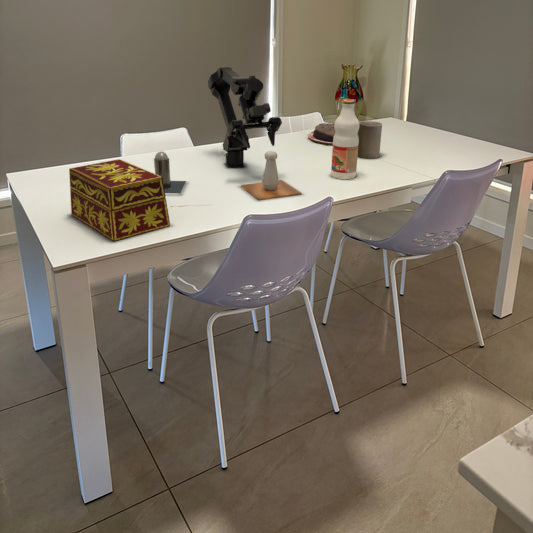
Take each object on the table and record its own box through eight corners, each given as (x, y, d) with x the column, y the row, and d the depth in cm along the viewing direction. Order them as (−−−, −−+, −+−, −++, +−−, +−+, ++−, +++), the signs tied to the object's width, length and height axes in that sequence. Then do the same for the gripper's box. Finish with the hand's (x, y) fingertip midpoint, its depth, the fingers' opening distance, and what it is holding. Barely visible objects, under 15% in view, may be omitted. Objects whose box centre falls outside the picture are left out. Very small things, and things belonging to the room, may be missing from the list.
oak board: (281, 181, 215) (281, 180, 215) (301, 194, 202) (301, 192, 201) (241, 186, 209) (240, 185, 209) (258, 200, 196) (258, 198, 196)
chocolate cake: (371, 146, 263) (373, 132, 260) (309, 146, 263) (310, 131, 260) (363, 132, 288) (364, 119, 285) (306, 131, 288) (306, 118, 285)
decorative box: (70, 214, 182) (64, 167, 175) (124, 202, 193) (120, 157, 187) (113, 241, 163) (108, 189, 157) (170, 225, 174) (167, 176, 168)
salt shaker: (258, 188, 206) (258, 151, 200) (271, 185, 209) (271, 148, 203) (269, 192, 202) (270, 155, 196) (282, 189, 205) (282, 152, 199)
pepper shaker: (170, 184, 209) (168, 149, 204) (170, 188, 204) (168, 153, 199) (156, 184, 208) (153, 150, 203) (155, 189, 204) (153, 154, 198)
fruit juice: (357, 179, 218) (363, 102, 206) (332, 179, 218) (336, 102, 206) (354, 172, 226) (360, 97, 214) (329, 172, 226) (334, 97, 214)
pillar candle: (353, 157, 246) (356, 121, 240) (359, 152, 254) (362, 116, 248) (376, 160, 243) (380, 123, 236) (381, 154, 251) (385, 118, 244)
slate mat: (186, 182, 213) (186, 181, 212) (180, 195, 200) (180, 193, 200) (147, 181, 213) (147, 180, 213) (139, 194, 200) (139, 192, 200)
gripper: (230, 96, 200) (242, 136, 196) (280, 93, 207) (293, 131, 202) (223, 116, 210) (234, 153, 206) (271, 112, 217) (283, 148, 212)
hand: (261, 146), depth 206 cm, fingers open, 9 cm apart
